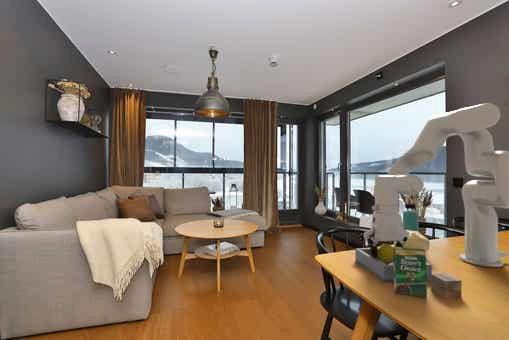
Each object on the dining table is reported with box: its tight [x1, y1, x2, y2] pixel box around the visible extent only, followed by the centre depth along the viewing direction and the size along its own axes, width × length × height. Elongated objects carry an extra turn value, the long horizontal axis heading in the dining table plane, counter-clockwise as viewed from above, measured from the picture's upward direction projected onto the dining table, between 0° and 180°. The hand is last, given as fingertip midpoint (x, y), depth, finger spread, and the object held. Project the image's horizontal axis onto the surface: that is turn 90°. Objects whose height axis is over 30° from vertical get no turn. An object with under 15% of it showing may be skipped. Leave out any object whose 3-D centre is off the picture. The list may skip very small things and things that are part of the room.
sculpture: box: [393, 230, 431, 253], centre depth 105 cm, size 12×12×11 cm
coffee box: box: [392, 246, 428, 298], centre depth 74 cm, size 8×3×13 cm, turn 69°
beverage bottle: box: [402, 203, 420, 232], centre depth 118 cm, size 6×7×20 cm
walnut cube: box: [430, 272, 463, 300], centre depth 74 cm, size 5×5×5 cm
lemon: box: [378, 242, 394, 265], centre depth 94 cm, size 6×6×8 cm
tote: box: [354, 247, 433, 283], centre depth 91 cm, size 16×18×5 cm
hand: (386, 255), depth 94 cm, fingers open, 9 cm apart
